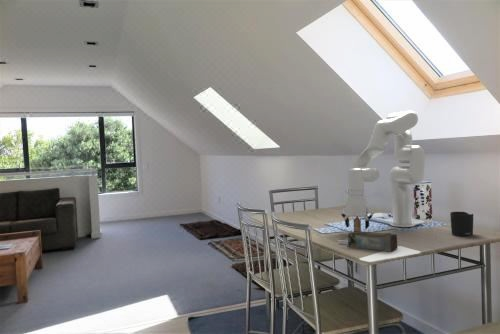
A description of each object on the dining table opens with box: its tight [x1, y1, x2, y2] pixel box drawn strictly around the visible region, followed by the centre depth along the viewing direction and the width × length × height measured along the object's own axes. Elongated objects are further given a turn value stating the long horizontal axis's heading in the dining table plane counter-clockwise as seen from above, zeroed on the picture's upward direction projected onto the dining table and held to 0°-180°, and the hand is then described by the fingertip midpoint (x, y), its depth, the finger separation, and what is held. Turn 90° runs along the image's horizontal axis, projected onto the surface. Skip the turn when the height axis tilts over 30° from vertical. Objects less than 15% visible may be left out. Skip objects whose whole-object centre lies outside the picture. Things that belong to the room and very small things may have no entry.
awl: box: [353, 216, 362, 232], centre depth 190 cm, size 3×3×11 cm
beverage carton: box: [347, 230, 398, 253], centre depth 163 cm, size 8×19×7 cm, turn 52°
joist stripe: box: [337, 236, 348, 246], centre depth 176 cm, size 16×9×1 cm, turn 150°
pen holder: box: [450, 211, 474, 237], centre depth 178 cm, size 9×9×10 cm
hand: (357, 227), depth 190 cm, fingers open, 9 cm apart
